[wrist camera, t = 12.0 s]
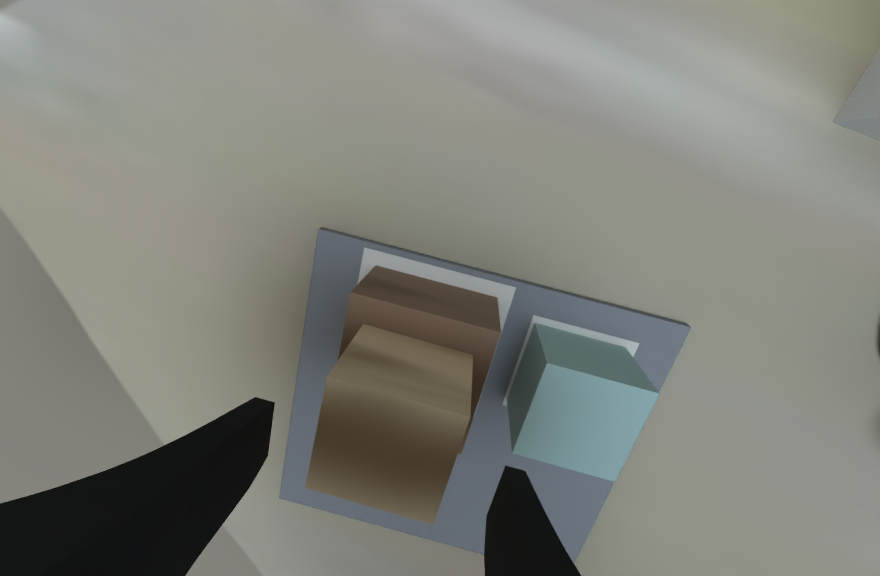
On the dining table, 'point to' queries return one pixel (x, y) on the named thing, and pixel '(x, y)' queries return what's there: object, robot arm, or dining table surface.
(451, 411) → the oak block
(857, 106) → the milk
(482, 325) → the walnut base
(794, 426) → the dining table surface
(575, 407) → the teal block
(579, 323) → the blueprint mat
